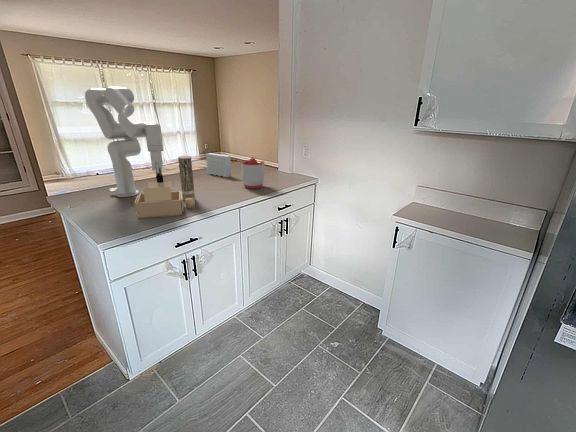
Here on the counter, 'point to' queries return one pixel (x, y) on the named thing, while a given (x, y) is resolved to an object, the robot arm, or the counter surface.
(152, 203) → the carton
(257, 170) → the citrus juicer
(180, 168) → the paper tube
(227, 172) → the skincare box
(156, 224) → the counter surface
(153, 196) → the near flap
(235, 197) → the counter surface
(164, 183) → the far flap
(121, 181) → the robot arm
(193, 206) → the white-capped tan cylinder
